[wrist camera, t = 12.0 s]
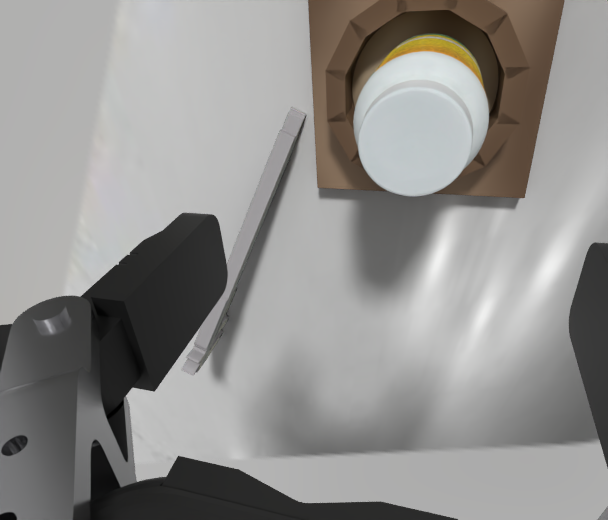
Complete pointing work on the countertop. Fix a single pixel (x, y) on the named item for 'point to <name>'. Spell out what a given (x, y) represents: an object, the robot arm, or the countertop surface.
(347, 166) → the bottle holder
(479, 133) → the supplement bottle
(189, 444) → the countertop surface
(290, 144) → the caliper
